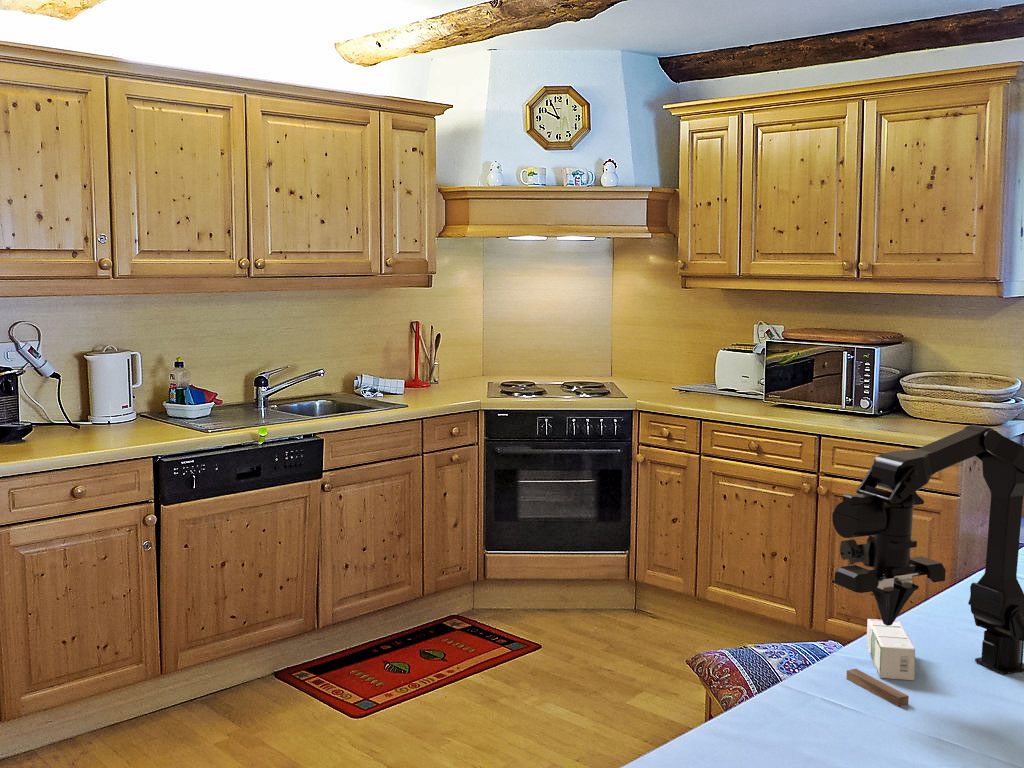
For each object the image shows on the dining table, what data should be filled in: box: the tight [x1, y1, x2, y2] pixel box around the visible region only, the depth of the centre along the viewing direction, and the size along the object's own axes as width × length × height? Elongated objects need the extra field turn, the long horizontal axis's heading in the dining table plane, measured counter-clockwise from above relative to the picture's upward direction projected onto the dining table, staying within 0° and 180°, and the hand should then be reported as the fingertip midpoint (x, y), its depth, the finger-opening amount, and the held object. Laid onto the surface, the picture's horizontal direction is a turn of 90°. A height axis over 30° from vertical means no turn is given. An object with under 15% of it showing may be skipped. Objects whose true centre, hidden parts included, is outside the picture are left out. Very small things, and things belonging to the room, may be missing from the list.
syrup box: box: [866, 618, 916, 681], centre depth 182 cm, size 6×6×14 cm
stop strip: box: [845, 668, 910, 708], centre depth 171 cm, size 2×12×2 cm, turn 23°
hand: (887, 624), depth 170 cm, fingers closed
